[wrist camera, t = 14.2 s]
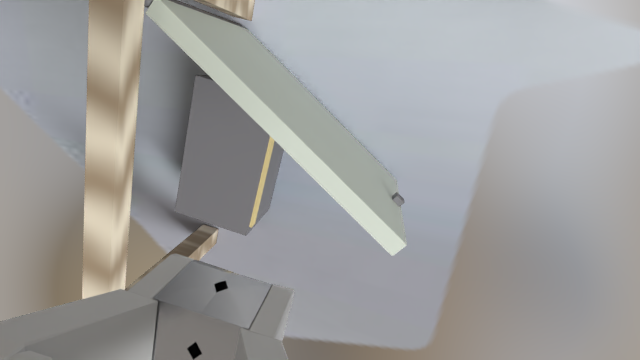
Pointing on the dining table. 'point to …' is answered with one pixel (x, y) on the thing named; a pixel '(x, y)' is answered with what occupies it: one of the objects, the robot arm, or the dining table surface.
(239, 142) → the block
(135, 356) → the robot arm
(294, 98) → the door
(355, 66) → the dining table surface
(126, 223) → the door frame
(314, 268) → the dining table surface
